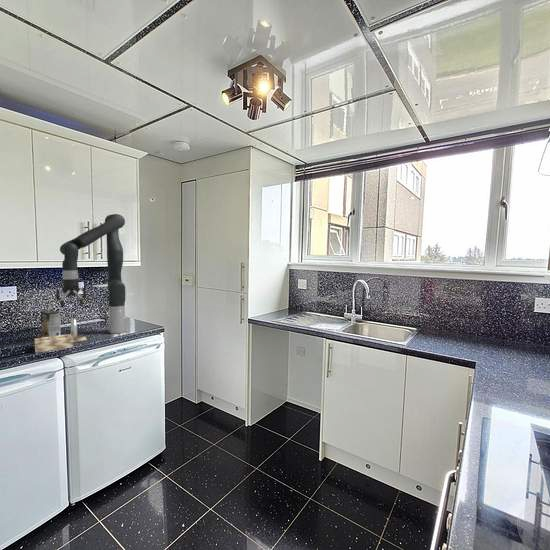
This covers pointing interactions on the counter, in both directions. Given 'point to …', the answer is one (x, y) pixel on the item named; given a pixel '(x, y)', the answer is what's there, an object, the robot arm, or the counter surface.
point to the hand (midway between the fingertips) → (71, 306)
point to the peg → (74, 328)
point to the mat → (80, 339)
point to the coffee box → (50, 323)
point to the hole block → (53, 343)
